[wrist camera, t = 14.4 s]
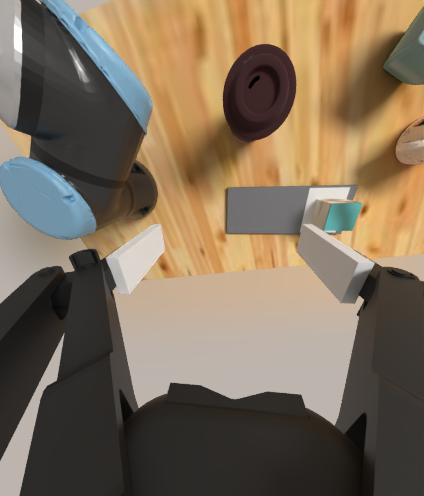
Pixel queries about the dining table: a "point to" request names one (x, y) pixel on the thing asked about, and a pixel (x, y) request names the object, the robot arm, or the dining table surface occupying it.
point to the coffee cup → (259, 92)
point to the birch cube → (335, 214)
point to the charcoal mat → (278, 207)
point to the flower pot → (409, 54)
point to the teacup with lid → (412, 144)
